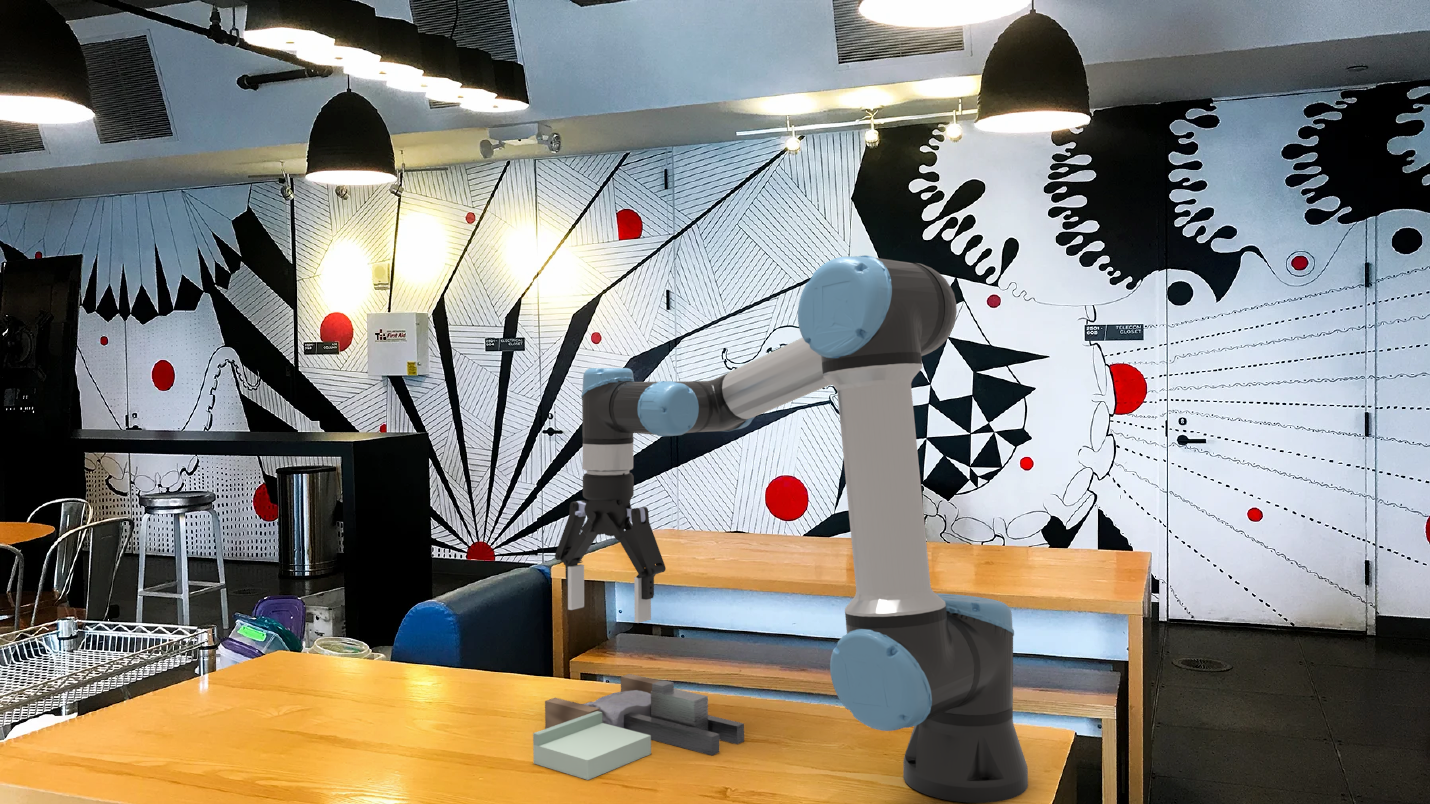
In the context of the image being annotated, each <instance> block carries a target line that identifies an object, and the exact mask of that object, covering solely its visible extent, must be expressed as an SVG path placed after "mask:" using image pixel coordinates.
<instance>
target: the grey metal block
mask: <svg viewBox="0 0 1430 804" xmlns="http://www.w3.org/2000/svg"><path fill="white" fill-rule="evenodd" d="M674 687H675V686H674V682H673V681H668V680H666V679H665V680H660V681H659V682H656V683H653V684H652V691H651V717H652V718H656V719H660V720H664V721H669V722H673V723H677V724H681V725H685V726H689V727H693V728H697V729H701V730H705V731H708V715H709V695H705V694H700V693H696V692H690V691H687V690H682V689H677V688H674Z"/></svg>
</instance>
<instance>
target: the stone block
mask: <svg viewBox="0 0 1430 804" xmlns="http://www.w3.org/2000/svg"><path fill="white" fill-rule="evenodd" d="M582 704H583V705H587V706H591V707H595V708H599V709H600V712H602V723H605V724H608V725H612V726H616V727H620V728H624V715H626V714H629V713H631V712H632V713H636V714H640V715H644V716H648V717H650V706H651V694H649V693H648V692H643V691H638V690H634V691H624V692H621V691H617V692H613V693H611V694H607V695H605V696H601V697H599V698H597V699H596V700H595V701H589V702H586V703H582Z"/></svg>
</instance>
